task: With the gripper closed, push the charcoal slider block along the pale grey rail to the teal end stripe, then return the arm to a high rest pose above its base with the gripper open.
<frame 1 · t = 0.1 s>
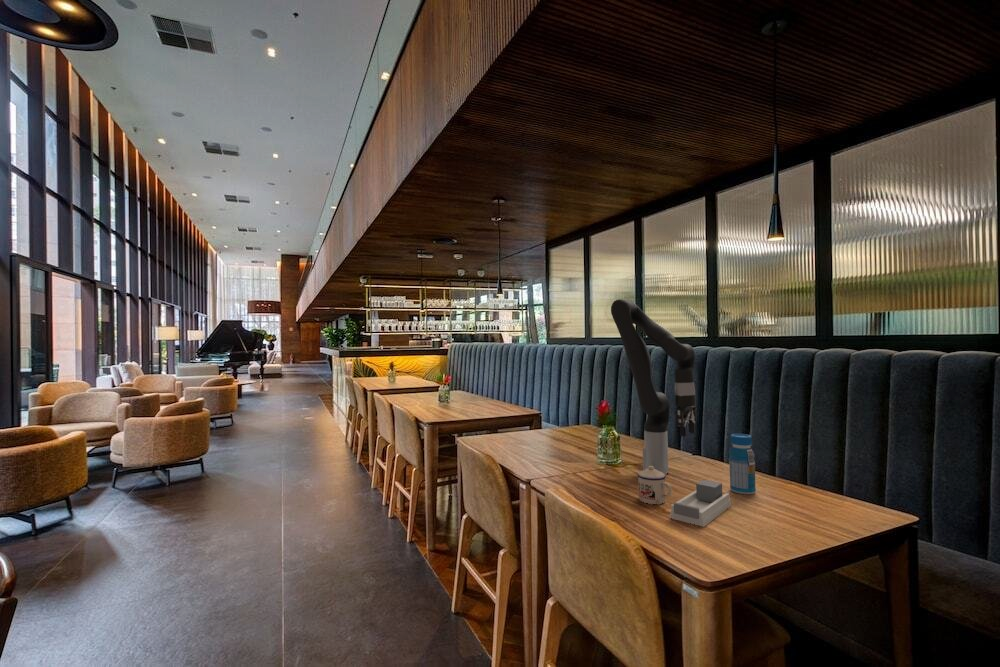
hand: (687, 434, 180), 17 cm above the table, tool pointing down, fingers open, 8 cm apart
slider block: (709, 491, 149), point 5 cm above the table, slide at 0.0 cm
teacup with lid: (655, 502, 154), on the table
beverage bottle: (742, 491, 163), on the table
slide rail: (701, 512, 144), on the table
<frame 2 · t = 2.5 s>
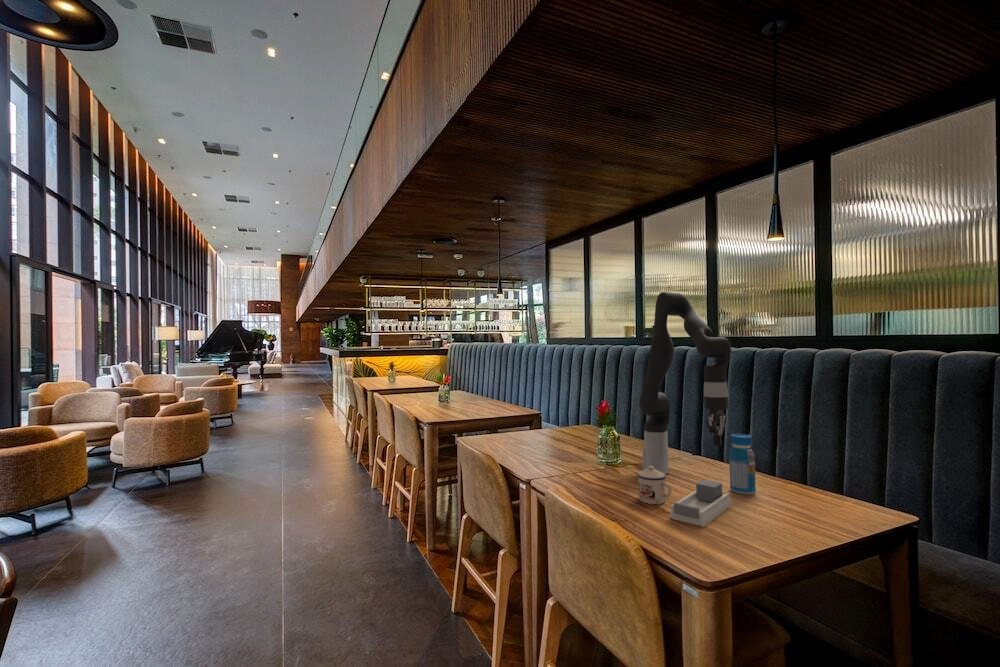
hand: (717, 445, 155), 18 cm above the table, tool pointing down, fingers closed
nothing on the table moved.
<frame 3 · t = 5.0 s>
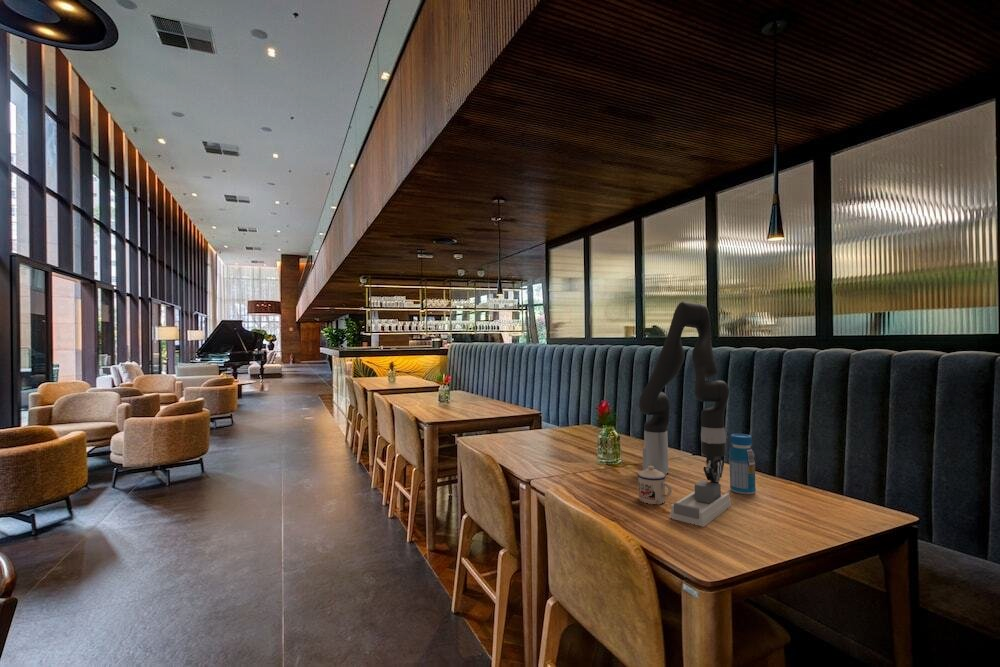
hand: (714, 492, 152), 4 cm above the table, tool pointing down, fingers closed
slider block: (707, 492, 148), point 5 cm above the table, slide at 1.4 cm, touching gripper
everything else where it was.
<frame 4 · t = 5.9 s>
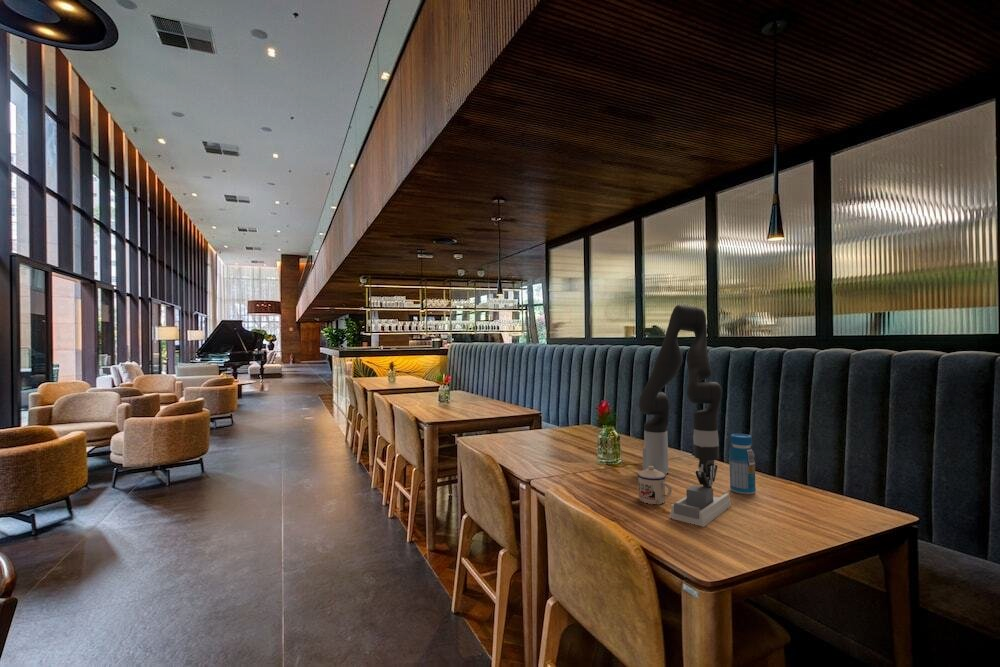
hand: (707, 496, 147), 4 cm above the table, tool pointing down, fingers closed
slider block: (699, 497, 143), point 5 cm above the table, slide at 7.9 cm, touching gripper
everything else where it was.
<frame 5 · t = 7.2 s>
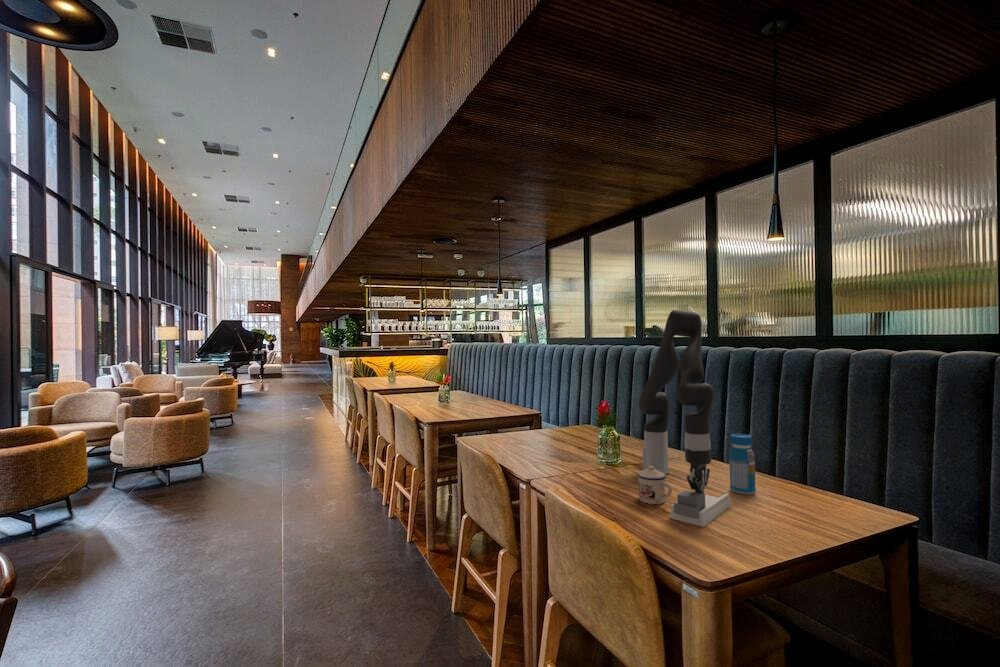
hand: (699, 502, 142), 4 cm above the table, tool pointing down, fingers closed
slider block: (691, 502, 139), point 5 cm above the table, slide at 14.6 cm, touching gripper
everything else where it was.
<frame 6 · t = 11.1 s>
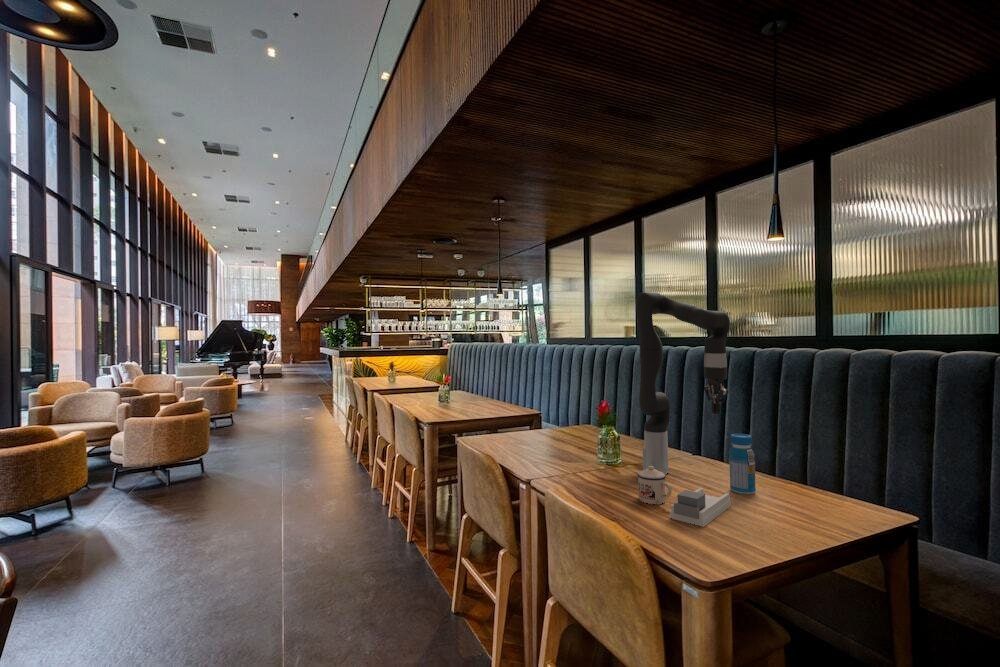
hand: (715, 413, 164), 28 cm above the table, tool pointing down, fingers closed
slider block: (691, 502, 139), point 5 cm above the table, slide at 14.5 cm
everything else where it was.
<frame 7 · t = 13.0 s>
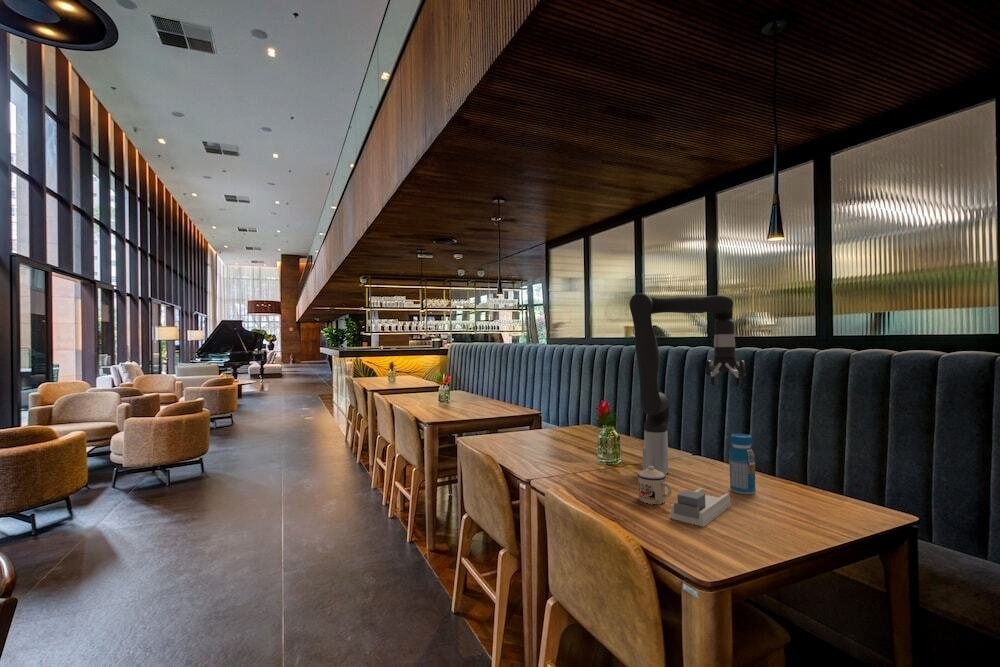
hand: (725, 386, 180), 36 cm above the table, tool pointing down, fingers open, 8 cm apart
nothing on the table moved.
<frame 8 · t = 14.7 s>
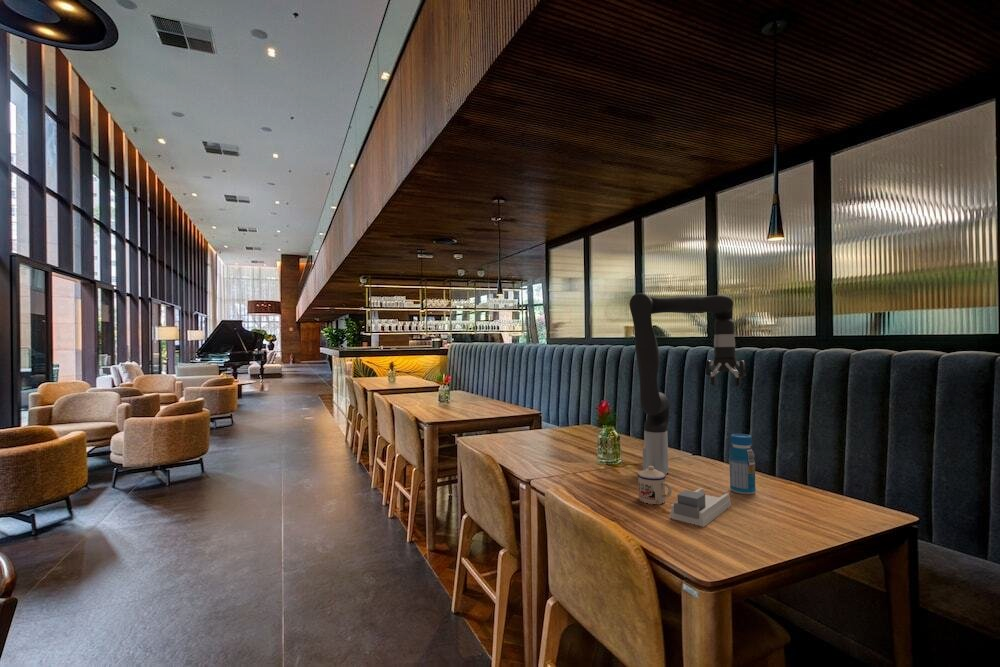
hand: (725, 386, 180), 36 cm above the table, tool pointing down, fingers open, 8 cm apart
nothing on the table moved.
at the end: slider block slide at 14.5 cm; teacup with lid moved 0.2 cm from its start; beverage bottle moved 0.2 cm from its start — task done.
